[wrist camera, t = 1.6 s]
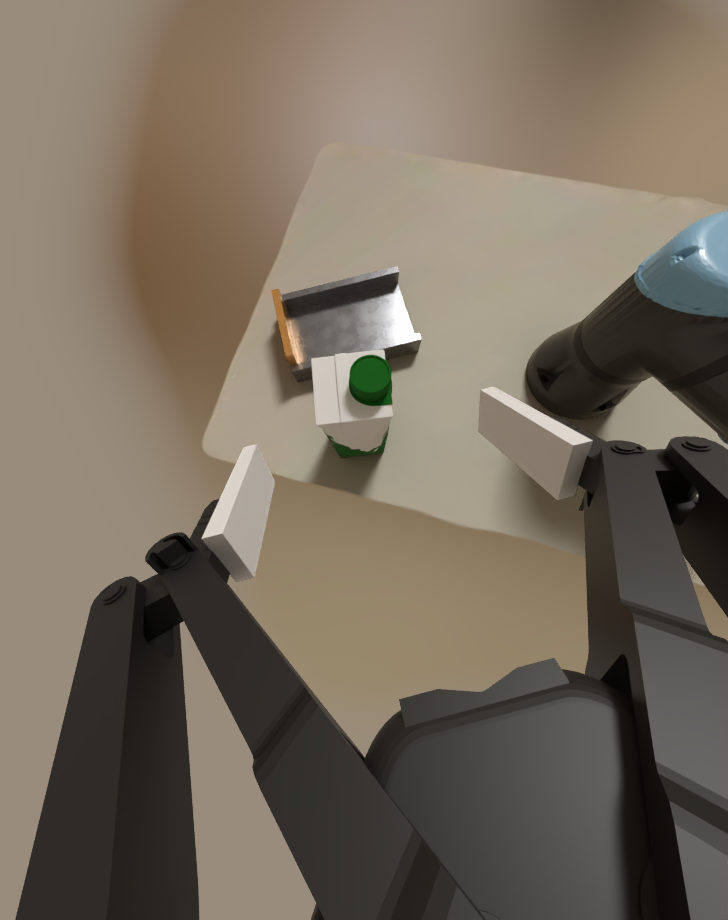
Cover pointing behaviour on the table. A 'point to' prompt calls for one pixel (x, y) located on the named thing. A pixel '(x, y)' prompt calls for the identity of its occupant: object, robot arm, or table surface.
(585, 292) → the table surface
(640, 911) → the robot arm
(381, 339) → the rail channel
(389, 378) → the soya milk
